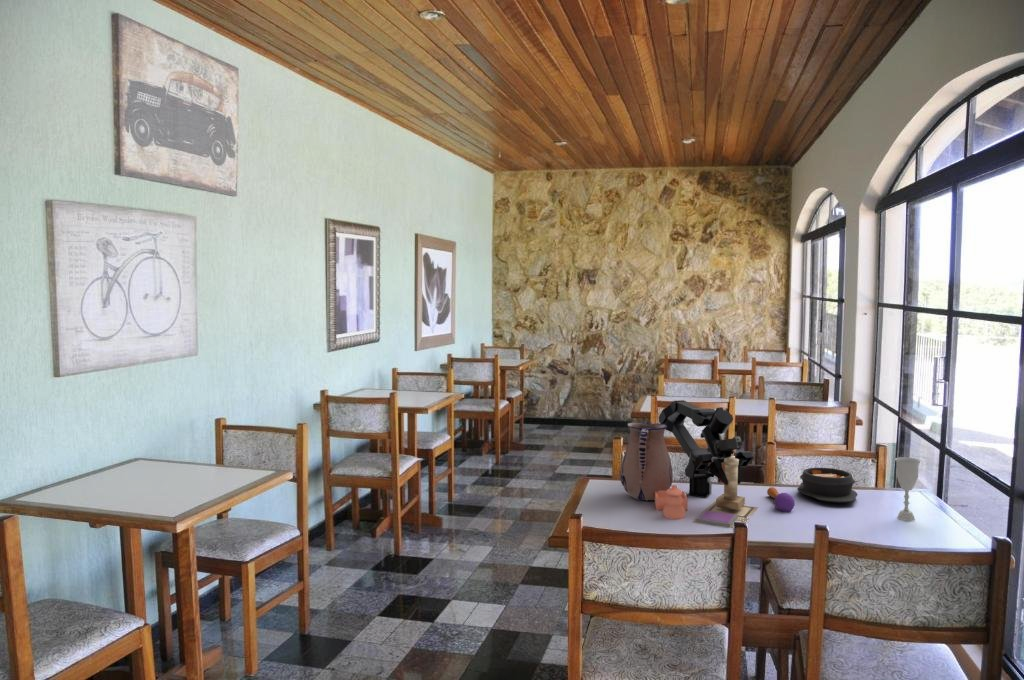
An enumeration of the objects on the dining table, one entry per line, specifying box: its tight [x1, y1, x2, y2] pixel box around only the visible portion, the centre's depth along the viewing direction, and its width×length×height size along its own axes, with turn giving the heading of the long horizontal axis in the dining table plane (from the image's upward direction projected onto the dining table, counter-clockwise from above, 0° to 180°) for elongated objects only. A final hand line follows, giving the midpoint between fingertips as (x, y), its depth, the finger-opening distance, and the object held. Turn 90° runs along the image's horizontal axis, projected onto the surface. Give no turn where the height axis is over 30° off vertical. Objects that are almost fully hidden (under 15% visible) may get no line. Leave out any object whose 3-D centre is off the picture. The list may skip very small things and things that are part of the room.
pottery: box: [654, 484, 688, 520], centre depth 230 cm, size 18×10×10 cm, turn 173°
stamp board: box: [692, 500, 760, 529], centre depth 225 cm, size 14×25×1 cm, turn 149°
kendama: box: [766, 486, 796, 513], centre depth 237 cm, size 6×6×20 cm
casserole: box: [796, 467, 858, 503], centre depth 245 cm, size 25×19×8 cm
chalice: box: [894, 456, 921, 522], centre depth 221 cm, size 7×7×18 cm
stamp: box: [715, 458, 746, 510], centre depth 230 cm, size 7×7×15 cm
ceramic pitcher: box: [619, 421, 674, 501], centre depth 244 cm, size 18×21×25 cm
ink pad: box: [695, 509, 738, 528], centre depth 220 cm, size 10×10×1 cm
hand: (733, 483), depth 228 cm, fingers closed on stamp, 4 cm apart
